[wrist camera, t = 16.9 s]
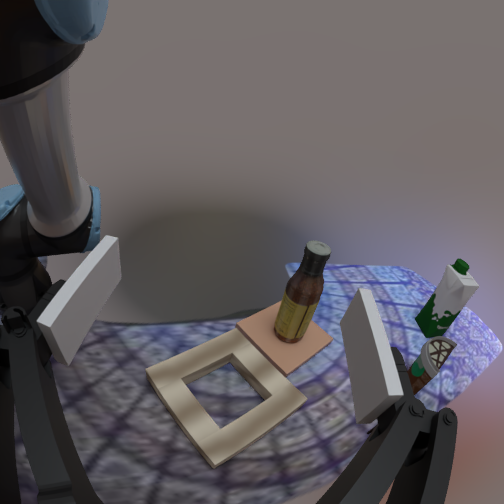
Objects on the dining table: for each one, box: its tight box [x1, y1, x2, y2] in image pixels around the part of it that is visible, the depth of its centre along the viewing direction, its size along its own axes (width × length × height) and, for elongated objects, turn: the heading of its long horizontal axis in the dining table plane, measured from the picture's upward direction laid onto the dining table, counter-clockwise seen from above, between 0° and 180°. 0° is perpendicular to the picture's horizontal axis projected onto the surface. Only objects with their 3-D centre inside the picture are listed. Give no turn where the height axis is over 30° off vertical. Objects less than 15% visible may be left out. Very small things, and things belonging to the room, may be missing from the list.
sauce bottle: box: [274, 241, 331, 343], centre depth 48 cm, size 6×6×20 cm
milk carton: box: [415, 259, 479, 338], centre depth 58 cm, size 9×9×20 cm
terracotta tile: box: [236, 301, 333, 377], centre depth 54 cm, size 14×14×1 cm
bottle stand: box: [145, 328, 307, 469], centre depth 40 cm, size 18×18×3 cm
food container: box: [407, 336, 457, 395], centre depth 46 cm, size 12×6×10 cm, turn 123°
